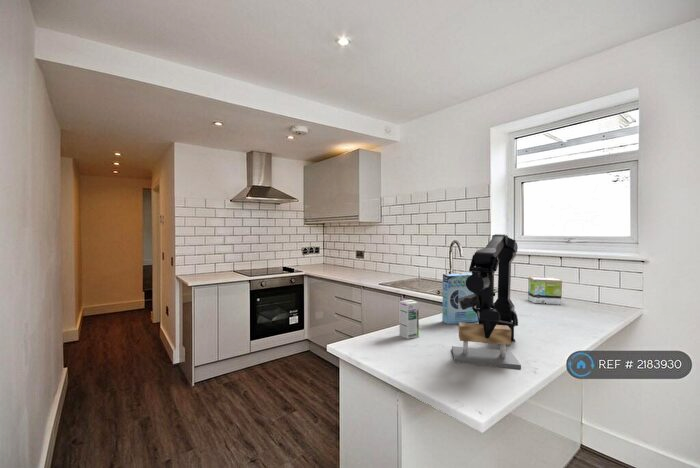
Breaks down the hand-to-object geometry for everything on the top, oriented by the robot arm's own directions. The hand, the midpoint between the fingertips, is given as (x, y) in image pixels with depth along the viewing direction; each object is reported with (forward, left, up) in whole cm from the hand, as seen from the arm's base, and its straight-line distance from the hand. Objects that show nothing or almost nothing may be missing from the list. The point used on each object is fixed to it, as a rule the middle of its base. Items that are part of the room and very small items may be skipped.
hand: (484, 333), depth 110 cm
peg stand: (0, 0, -8) cm, 8 cm away
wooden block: (0, 0, -2) cm, 2 cm away
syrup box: (+26, -17, -9) cm, 32 cm away
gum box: (+2, -44, -9) cm, 45 cm away
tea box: (-52, -98, -9) cm, 111 cm away
